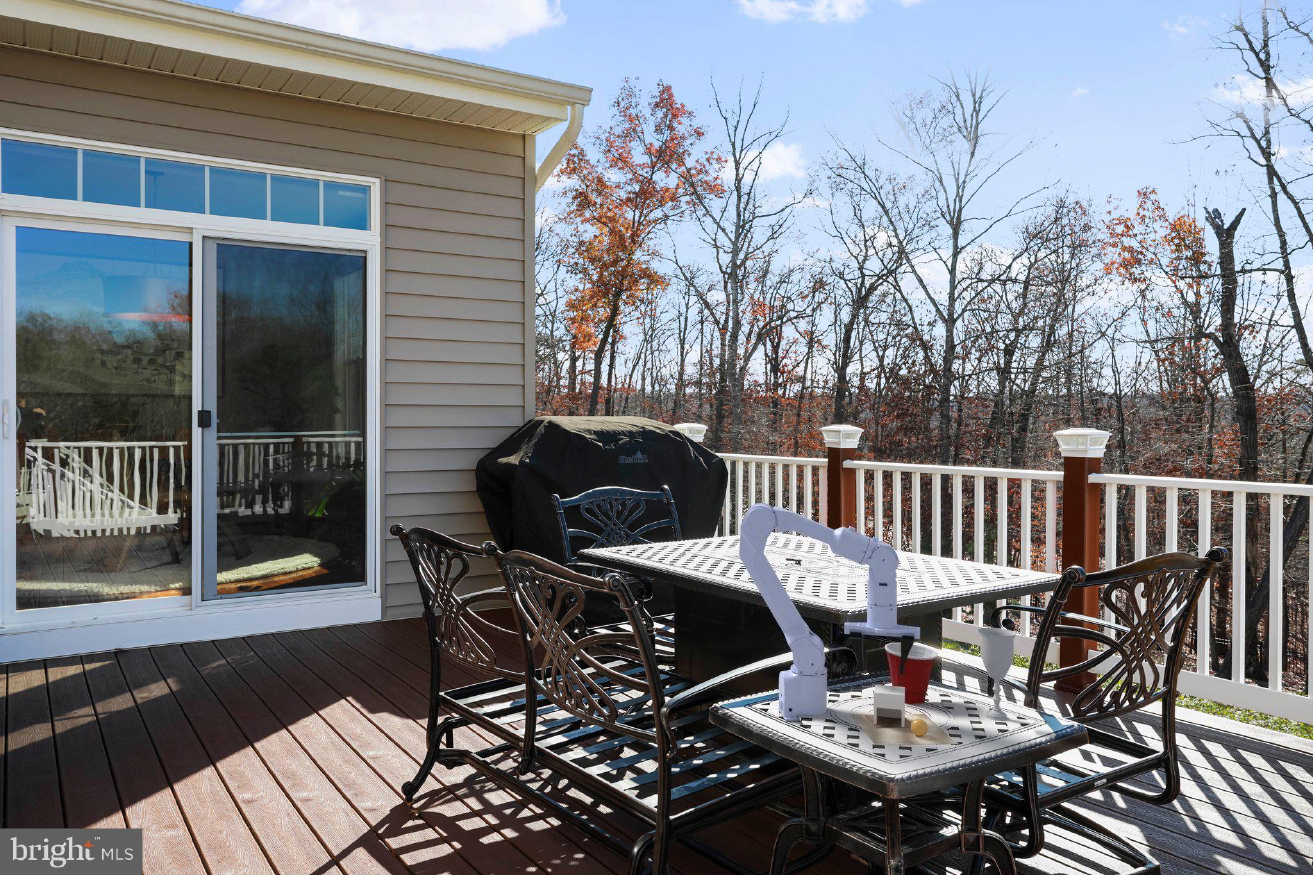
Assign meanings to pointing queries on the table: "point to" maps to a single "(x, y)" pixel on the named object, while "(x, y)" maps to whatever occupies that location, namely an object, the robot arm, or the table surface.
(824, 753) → the table surface
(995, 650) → the chalice
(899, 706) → the white tabletop archway
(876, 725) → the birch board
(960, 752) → the table surface
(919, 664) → the plastic cup
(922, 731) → the orange marble
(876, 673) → the table surface
